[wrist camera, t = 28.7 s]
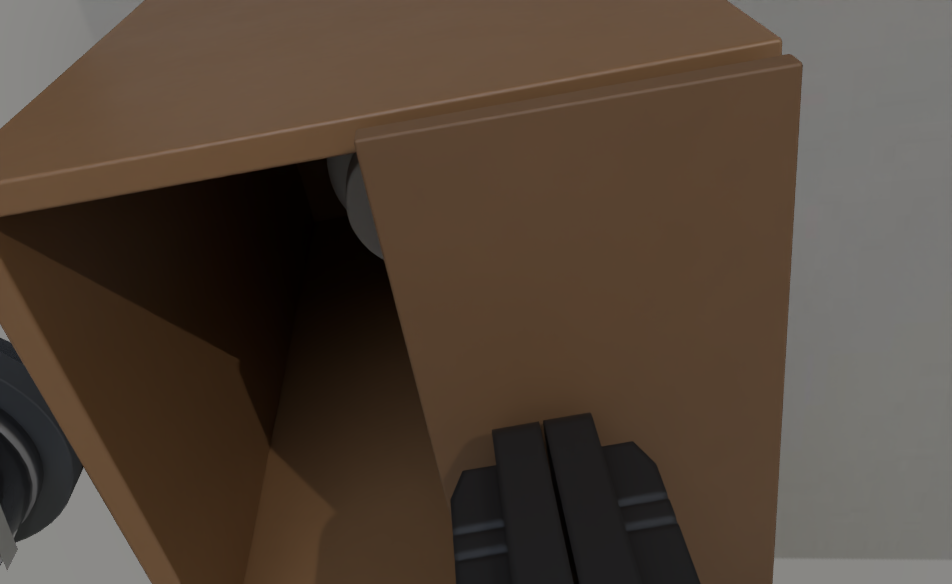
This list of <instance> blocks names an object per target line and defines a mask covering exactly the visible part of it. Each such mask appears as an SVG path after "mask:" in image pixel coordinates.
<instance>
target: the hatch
mask: <svg viewBox="0 0 952 584" xmlns="http://www.w3.org/2000/svg"><path fill="white" fill-rule="evenodd" d="M802 67H803V65H802V62H800V61H799V60H798V59H796V58H795V57H794V56H793V55H790V54H787V55H781V56H776V57H770V58H764V59H758V60H753V61H747V62H741V63H735V64H730V65H724V66H718V67H712V68H707V69H701V70H695V71H689V72H684V73H678V74H672V75H666V76H661V77H655V78H649V79H643V80H638V81H632V82H626V83H620V84H615V85H609V86H603V87H597V88H592V89H586V90H580V91H574V92H569V93H563V94H557V95H551V96H546V97H540V98H534V99H528V100H523V101H517V102H511V103H505V104H500V105H494V106H488V107H482V108H477V109H471V110H465V111H459V112H454V113H448V114H442V115H437V116H431V117H425V118H419V119H414V120H408V121H402V122H396V123H391V124H385V125H379V126H373V127H368V128H362V129H358V130H356V133H355V138H354V146H355V150H356V154H357V158H358V162H359V166H360V169H361V173H362V177H363V181H364V185H365V189H366V193H367V197H368V200H369V204H370V208H371V212H372V216H373V220H374V224H375V228H376V231H377V235H378V239H379V243H380V247H381V251H382V255H383V259H384V262H385V266H386V270H387V274H388V278H389V282H390V286H391V290H392V293H393V297H394V301H395V305H396V309H397V313H398V317H399V321H400V324H401V328H402V332H403V336H404V340H405V344H406V348H407V352H408V355H409V359H410V363H411V367H412V371H413V375H414V379H415V383H416V387H417V390H418V394H419V398H420V402H421V406H422V410H423V414H424V418H425V421H426V425H427V429H428V433H429V437H430V441H431V445H432V449H433V452H434V456H435V460H436V464H437V468H438V472H439V476H440V480H441V483H442V487H443V491H444V495H445V499H446V503H447V507H448V511H449V514H450V518H451V522H452V517H451V503H450V499H451V497H452V495H453V492H454V490H455V487H456V485H457V483H458V480H459V478H460V476H461V473H462V471H464V470H470V469H476V468H482V467H487V466H493V465H496V459H495V452H494V445H493V438H492V429H498V428H504V427H510V426H515V425H521V424H527V423H533V422H538V421H539V424H540V428H541V433H542V438H543V442H544V447H545V452H546V456H547V461H548V466H549V459H548V453H547V446H546V440H545V433H544V427H543V420H548V419H554V418H560V417H566V416H571V415H577V414H583V413H589V412H590V413H591V414H592V417H593V420H594V423H595V427H596V430H597V433H598V437H599V440H600V443H601V446H607V445H613V444H619V443H625V442H630V441H633V442H634V443H635V444H636V445H637V446H639V447H640V448H641V449H642V450H643V451H644V452H645V453H646V454H647V455H648V456H649V457H650V458H651V459H652V460H653V461H654V462H655V463H656V464H657V467H658V470H659V472H660V475H661V478H662V480H663V483H664V486H665V488H666V491H667V495H668V499H670V502H671V505H672V507H673V510H674V513H675V516H676V520H677V523H678V524H679V526H680V529H681V532H682V534H683V537H684V540H685V543H686V545H687V548H688V551H689V553H690V556H691V559H692V561H693V564H694V567H695V570H696V572H697V575H698V578H699V580H700V583H701V584H772V581H773V564H774V547H775V530H776V513H777V496H778V479H779V462H780V444H781V427H782V410H783V393H784V376H785V359H786V341H787V324H788V307H789V290H790V273H791V256H792V238H793V221H794V204H795V187H796V170H797V153H798V135H799V118H800V101H801V84H802ZM549 470H550V466H549ZM550 475H551V472H550ZM551 480H552V479H551Z"/></svg>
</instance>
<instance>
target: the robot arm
mask: <svg viewBox="0 0 952 584" xmlns="http://www.w3.org/2000/svg"><path fill="white" fill-rule="evenodd" d="M543 427H544V433H545V440H546V446H547V453H548V459H549V466H550V470H549V466H548V461H547V456H546V452H545V447H544V442H543V438H542V433H541V428H540V424H539V421H538V422H533V423H527V424H521V425H515V426H510V427H504V428H498V429H492V438H493V445H494V452H495V459H496V465H493V466H487V467H482V468H476V469H470V470H464V471H462V473H461V476H460V478H459V480H458V483H457V485H456V487H455V490H454V492H453V495H452V497H451V499H450V503H451V517H452V531H453V547H454V558H455V576H456V584H701V583H700V580H699V578H698V575H697V572H696V570H695V567H694V564H693V561H692V559H691V556H690V553H689V551H688V548H687V545H686V543H685V540H684V537H683V534H682V532H681V529H680V526H679V524H678V523H677V520H676V516H675V513H674V510H673V507H672V505H671V502H670V499H668V495H667V491H666V488H665V486H664V483H663V480H662V478H661V475H660V472H659V470H658V467H657V464H656V463H655V462H654V461H653V460H652V459H651V458H650V457H649V456H648V455H647V454H646V453H645V452H644V451H643V450H642V449H641V448H640V447H639V446H637V445H636V444H635V443H634V442H633V441H630V442H625V443H619V444H613V445H607V446H601V443H600V440H599V437H598V433H597V430H596V427H595V423H594V420H593V417H592V414H591V413H590V412H589V413H583V414H577V415H571V416H566V417H560V418H554V419H548V420H543ZM550 472H551V475H550ZM551 479H552V480H551ZM42 482H43V467H42V462H41V458H40V455H39V453H38V450H37V448H36V446H35V444H34V443H33V441H32V439H31V438H30V437H29V435H28V434H27V432H26V431H25V430H24V429H23V428H22V427H21V425H20V424H19V423H18V422H17V421H15V420H14V419H13V418H12V417H11V416H10V415H9V414H7V413H6V412H5V411H4V410H2V409H1V408H0V565H1V563H2V561H3V562H4V564H5V566H6V569H7V570H8V568H9V566H10V564H11V562H12V560H13V558H14V556H15V554H16V552H17V550H18V549H17V546H16V543H15V541H14V537H15V535H16V533H17V531H18V529H19V527H20V525H21V524H22V523H23V521H24V520H25V519H26V518H27V516H28V515H29V513H30V511H31V509H32V507H33V505H34V503H35V501H36V499H37V497H38V495H39V493H40V490H41V487H42Z"/></svg>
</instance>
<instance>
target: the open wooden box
mask: <svg viewBox="0 0 952 584" xmlns="http://www.w3.org/2000/svg"><path fill="white" fill-rule="evenodd" d="M781 55H782V40H781V38H780V37H778V36H777V35H775V34H774V33H773V32H771V31H770V30H768V29H767V28H765V27H764V26H763V25H761V24H760V23H758V22H757V21H755V20H754V19H753V18H751V17H750V16H748V15H747V14H745V13H744V12H743V11H741V10H740V9H738V8H737V7H735V6H734V5H733V4H731V3H730V2H728V1H727V0H145V1H144V2H143V3H141V4H140V5H139V6H138V7H137V8H136V9H135V10H134V11H132V12H131V13H130V14H129V15H128V16H127V17H126V18H125V19H123V20H122V21H121V22H120V23H119V24H118V25H117V26H116V27H114V28H113V29H112V30H111V31H110V32H109V33H108V34H107V35H105V36H104V37H103V38H102V39H101V40H100V41H99V42H98V43H96V44H95V45H94V46H93V47H92V48H91V49H90V50H89V51H87V52H86V53H85V54H84V55H83V56H82V57H81V58H80V59H79V60H77V61H76V62H75V63H74V64H73V65H72V66H71V67H69V68H68V69H67V70H66V71H65V72H64V73H63V74H62V75H60V76H59V77H58V78H57V79H56V80H55V81H54V82H53V83H51V84H50V85H49V86H48V87H47V88H46V89H45V90H44V91H42V92H41V93H40V94H39V95H38V96H37V97H36V98H35V99H33V100H32V101H31V102H30V103H29V104H28V105H27V106H26V107H24V108H23V109H22V110H21V111H20V112H19V113H18V114H17V115H15V116H14V117H13V118H12V119H11V120H10V121H9V122H8V123H6V124H5V125H4V126H3V127H2V128H1V129H0V324H1V326H2V328H3V330H4V331H5V333H6V335H7V337H8V338H9V340H10V342H11V343H12V345H13V347H14V349H15V350H16V352H17V354H18V355H19V357H20V359H21V361H22V362H23V364H24V366H25V367H26V369H27V371H28V373H29V374H30V376H31V378H32V379H33V381H34V383H35V385H36V386H37V388H38V390H39V391H40V393H41V395H42V396H43V398H44V400H45V402H46V403H47V405H48V407H49V408H50V410H51V412H52V414H53V415H54V417H55V419H56V420H57V422H58V424H59V426H60V427H61V429H62V431H63V432H64V434H65V436H66V438H67V439H68V441H69V443H70V444H71V446H72V448H73V449H74V451H75V453H76V455H77V456H78V458H79V460H80V461H81V463H82V465H83V467H84V468H85V470H86V472H87V473H88V475H89V477H90V479H91V480H92V482H93V484H94V485H95V487H96V489H97V490H98V492H99V494H100V496H101V497H102V499H103V501H104V502H105V504H106V506H107V508H108V509H109V511H110V512H111V514H112V516H113V518H114V520H115V521H116V523H117V525H118V526H119V528H120V530H121V532H122V533H123V535H124V537H125V538H126V540H127V542H128V544H129V545H130V547H131V549H132V550H133V552H134V554H135V555H136V557H137V559H138V561H139V562H140V564H141V566H142V567H143V569H144V571H145V573H146V574H147V576H148V578H149V579H150V581H151V583H152V584H456V576H455V558H454V547H453V531H452V522H451V518H450V514H449V511H448V507H447V503H446V499H445V495H444V491H443V487H442V483H441V480H440V476H439V472H438V468H437V464H436V460H435V456H434V452H433V449H432V445H431V441H430V437H429V433H428V429H427V425H426V421H425V418H424V414H423V410H422V406H421V402H420V398H419V394H418V390H417V387H416V383H415V379H414V375H413V371H412V367H411V363H410V359H409V355H408V352H407V348H406V344H405V340H404V336H403V332H402V328H401V324H400V321H399V317H398V313H397V309H396V305H395V301H394V297H393V293H392V290H391V286H390V282H389V278H388V274H387V270H386V266H385V262H384V260H383V259H381V258H380V257H378V256H377V255H375V254H374V253H372V252H371V251H370V250H369V249H368V248H367V247H366V246H365V245H364V244H363V243H362V242H361V241H360V240H359V238H358V237H357V235H356V234H355V232H354V231H353V229H352V227H351V225H350V222H349V219H348V215H347V210H346V209H345V208H344V206H343V205H342V204H341V202H340V201H339V199H338V197H337V195H336V194H335V191H334V189H333V187H332V184H331V181H330V177H329V173H328V167H327V158H330V157H335V156H341V155H346V154H352V153H356V150H355V146H354V138H355V133H356V130H358V129H362V128H368V127H373V126H379V125H385V124H391V123H396V122H402V121H408V120H414V119H419V118H425V117H431V116H437V115H442V114H448V113H454V112H459V111H465V110H471V109H477V108H482V107H488V106H494V105H500V104H505V103H511V102H517V101H523V100H528V99H534V98H540V97H546V96H551V95H557V94H563V93H569V92H574V91H580V90H586V89H592V88H597V87H603V86H609V85H615V84H620V83H626V82H632V81H638V80H643V79H649V78H655V77H661V76H666V75H672V74H678V73H684V72H689V71H695V70H701V69H707V68H712V67H718V66H724V65H730V64H735V63H741V62H747V61H753V60H758V59H764V58H770V57H776V56H781Z"/></svg>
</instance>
